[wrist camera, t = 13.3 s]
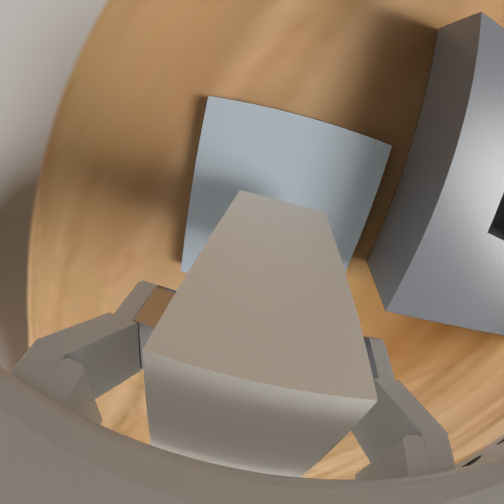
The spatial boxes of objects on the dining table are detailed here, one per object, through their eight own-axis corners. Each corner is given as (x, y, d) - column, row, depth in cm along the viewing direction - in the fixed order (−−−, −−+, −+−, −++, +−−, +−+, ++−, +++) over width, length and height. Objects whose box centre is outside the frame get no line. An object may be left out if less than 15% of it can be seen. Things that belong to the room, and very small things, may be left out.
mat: (213, 96, 15) (208, 96, 14) (386, 143, 15) (391, 145, 14) (185, 263, 20) (180, 271, 19) (327, 300, 20) (328, 308, 19)
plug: (240, 189, 13) (142, 349, 4) (325, 212, 13) (377, 400, 4) (224, 265, 15) (151, 445, 6) (300, 285, 15) (299, 477, 6)
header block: (438, 29, 11) (481, 11, 6) (553, 117, 10) (597, 130, 6) (366, 262, 18) (385, 310, 14) (486, 297, 18) (513, 337, 14)
